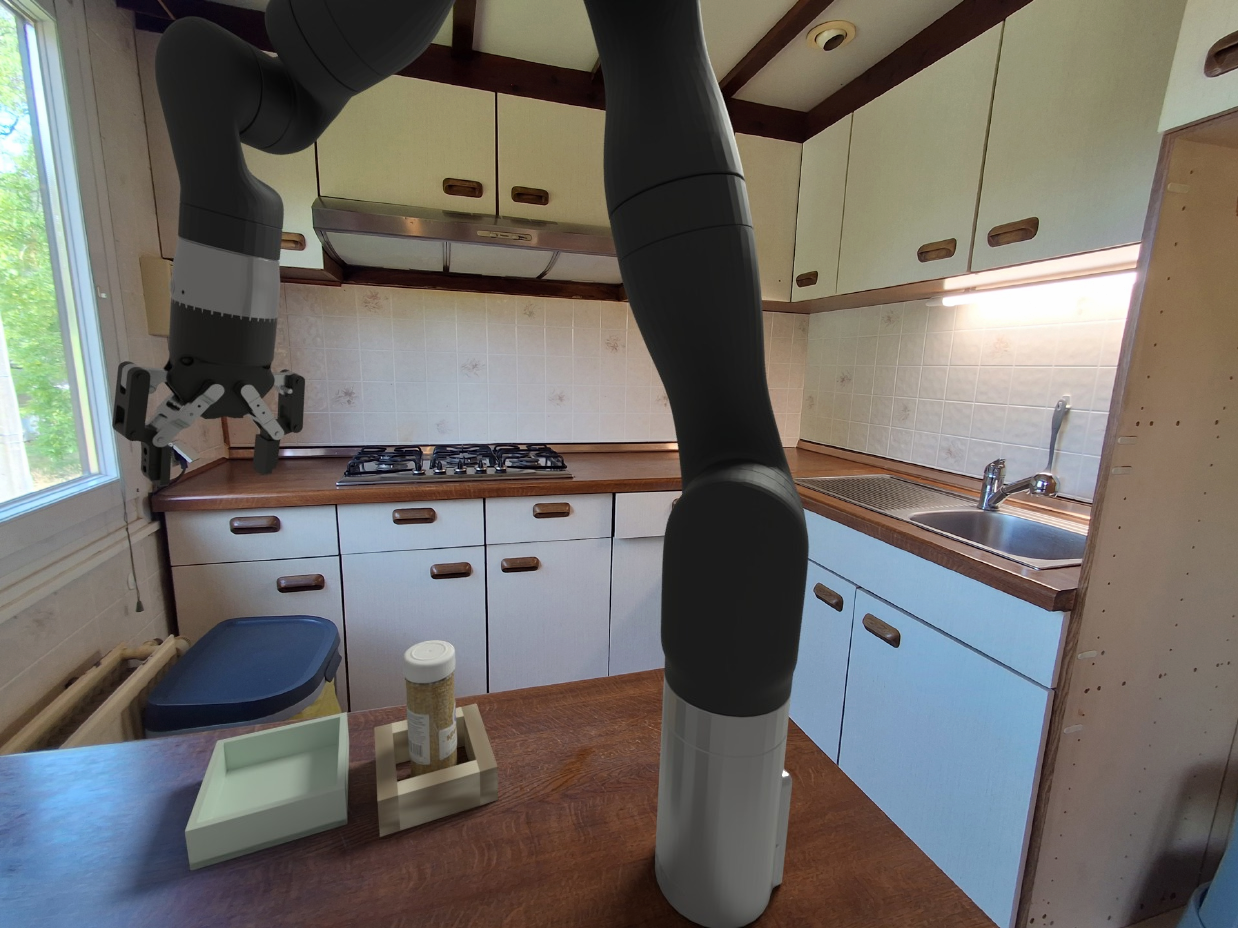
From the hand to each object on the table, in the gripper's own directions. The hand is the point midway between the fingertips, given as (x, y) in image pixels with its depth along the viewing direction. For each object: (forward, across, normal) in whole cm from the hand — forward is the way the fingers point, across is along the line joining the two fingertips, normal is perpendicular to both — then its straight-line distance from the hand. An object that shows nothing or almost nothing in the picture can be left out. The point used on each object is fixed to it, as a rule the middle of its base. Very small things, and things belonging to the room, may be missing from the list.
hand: (214, 477), depth 51 cm
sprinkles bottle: (+22, +8, -26) cm, 36 cm away
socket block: (+22, +8, -26) cm, 35 cm away
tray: (+25, -1, -17) cm, 30 cm away
